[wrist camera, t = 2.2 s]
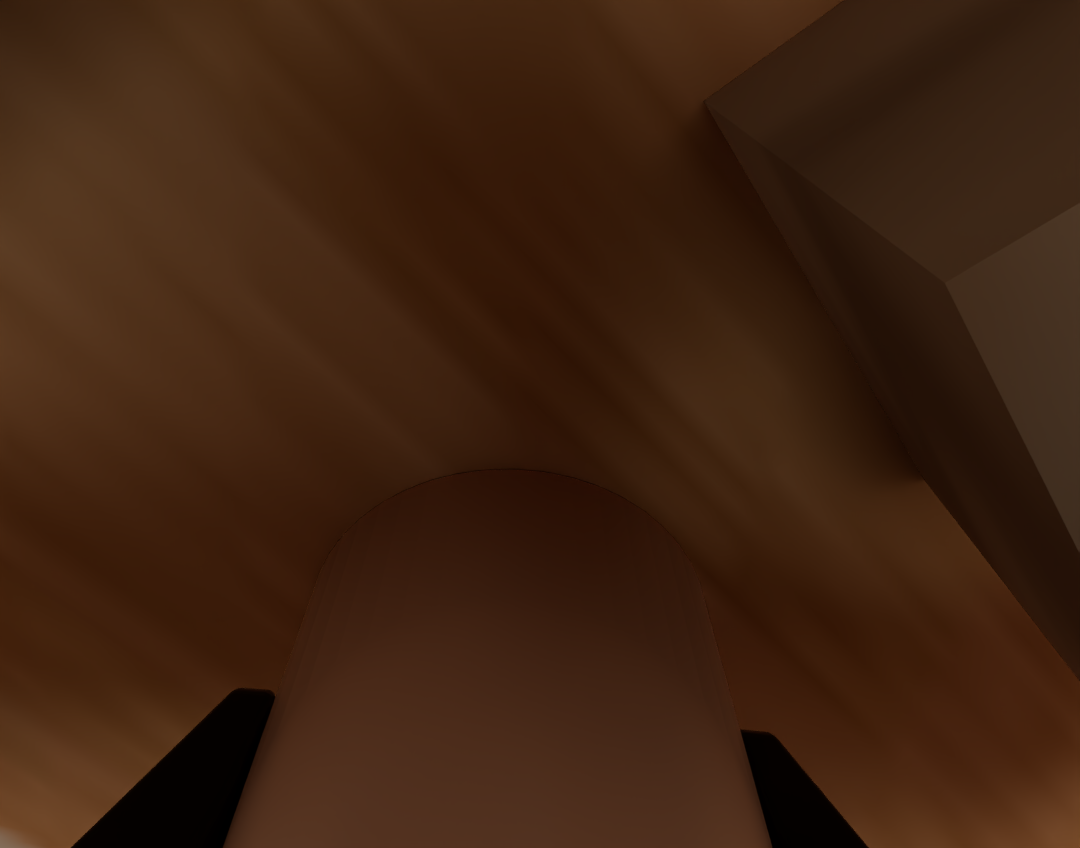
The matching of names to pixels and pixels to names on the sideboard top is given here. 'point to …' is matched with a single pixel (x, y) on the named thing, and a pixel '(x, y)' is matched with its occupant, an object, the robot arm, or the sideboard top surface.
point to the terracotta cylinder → (503, 684)
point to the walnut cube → (945, 250)
